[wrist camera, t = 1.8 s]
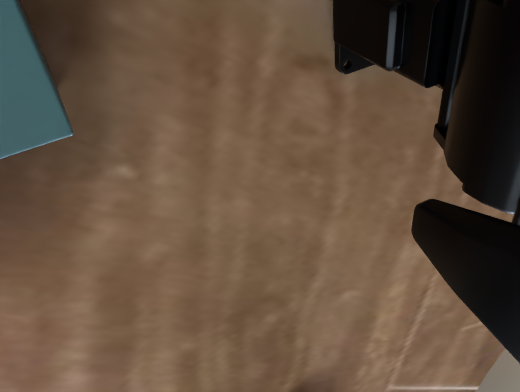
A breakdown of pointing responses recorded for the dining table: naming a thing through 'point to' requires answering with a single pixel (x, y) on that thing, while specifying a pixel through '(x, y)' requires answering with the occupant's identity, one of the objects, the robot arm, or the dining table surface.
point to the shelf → (26, 88)
